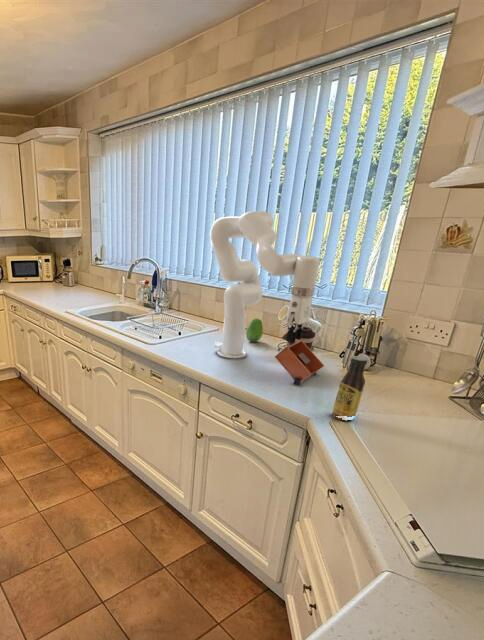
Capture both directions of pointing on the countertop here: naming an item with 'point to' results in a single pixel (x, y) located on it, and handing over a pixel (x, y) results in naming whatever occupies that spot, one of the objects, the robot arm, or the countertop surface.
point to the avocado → (254, 330)
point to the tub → (293, 363)
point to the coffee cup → (307, 337)
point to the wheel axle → (299, 380)
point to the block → (303, 359)
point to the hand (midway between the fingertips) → (293, 339)
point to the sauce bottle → (350, 389)
